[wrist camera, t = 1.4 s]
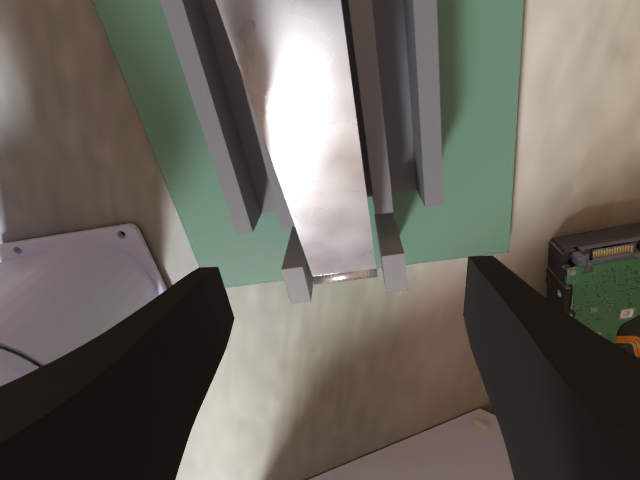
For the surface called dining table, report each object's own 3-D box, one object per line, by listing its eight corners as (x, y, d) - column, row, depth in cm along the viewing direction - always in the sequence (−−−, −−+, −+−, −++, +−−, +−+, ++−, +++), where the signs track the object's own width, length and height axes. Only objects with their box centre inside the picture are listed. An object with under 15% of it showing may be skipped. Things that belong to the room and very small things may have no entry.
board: (212, 282, 24) (180, 342, 19) (53, -126, 15) (-81, -201, 10) (503, 244, 22) (548, 302, 17) (530, -269, 13) (644, -455, 8)
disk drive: (688, 380, 27) (744, 196, 20) (723, 415, 25) (799, 219, 18) (537, 399, 29) (540, 235, 22) (555, 433, 26) (565, 261, 19)
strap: (316, 273, 19) (316, 288, 18) (183, -118, 8) (173, -113, 7) (375, 265, 18) (378, 280, 18) (319, -158, 8) (320, -156, 7)
